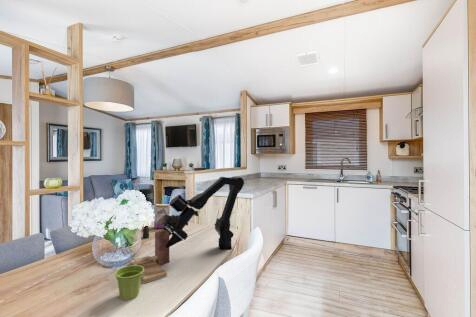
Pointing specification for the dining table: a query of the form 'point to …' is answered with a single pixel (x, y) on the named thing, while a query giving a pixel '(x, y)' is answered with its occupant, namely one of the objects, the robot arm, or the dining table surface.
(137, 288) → the plant pot
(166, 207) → the candy bar box
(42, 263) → the dining table surface
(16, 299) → the dining table surface
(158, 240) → the upright wooden block
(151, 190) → the stick grenade
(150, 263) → the board
